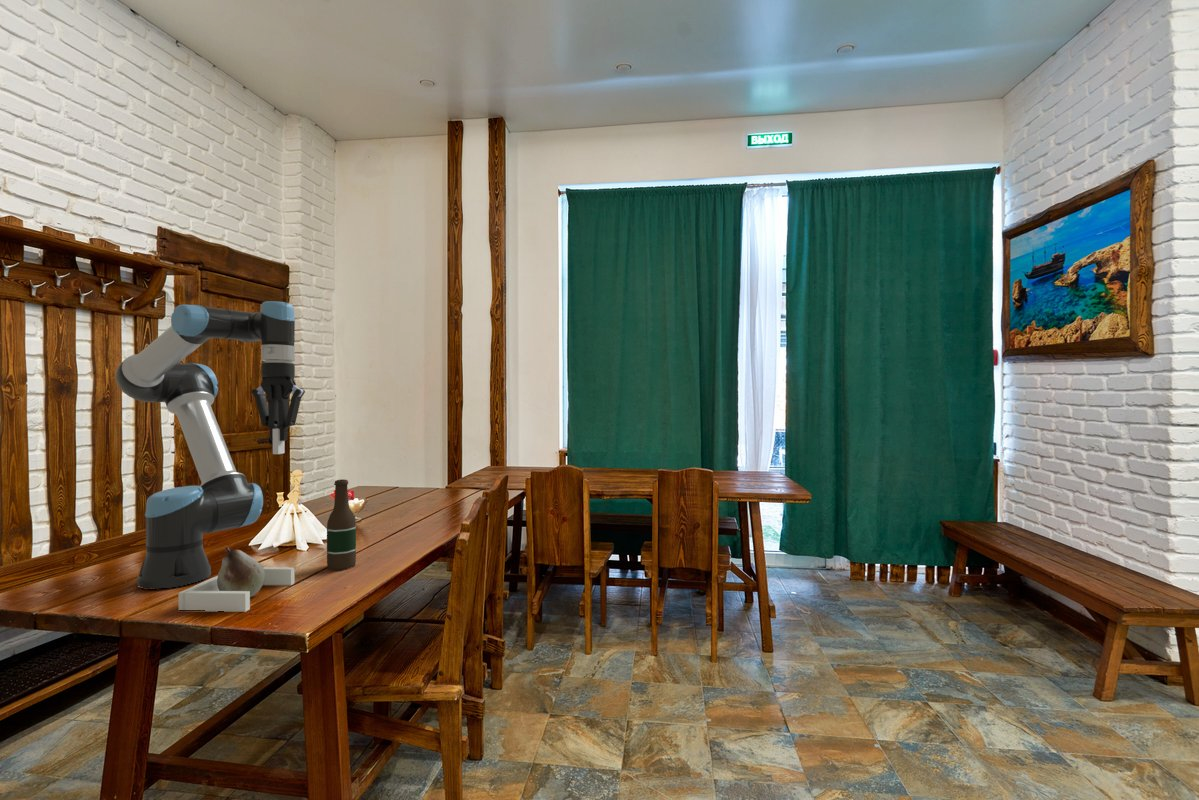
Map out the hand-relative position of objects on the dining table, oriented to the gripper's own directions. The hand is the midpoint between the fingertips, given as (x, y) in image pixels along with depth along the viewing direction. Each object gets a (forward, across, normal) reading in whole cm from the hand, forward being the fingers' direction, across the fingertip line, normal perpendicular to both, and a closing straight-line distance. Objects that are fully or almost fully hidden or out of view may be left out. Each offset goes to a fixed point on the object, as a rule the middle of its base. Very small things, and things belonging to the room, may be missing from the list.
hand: (278, 453), depth 147 cm
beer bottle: (+33, +11, +11) cm, 36 cm away
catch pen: (+32, -1, -13) cm, 35 cm away
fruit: (+33, -1, -13) cm, 35 cm away
